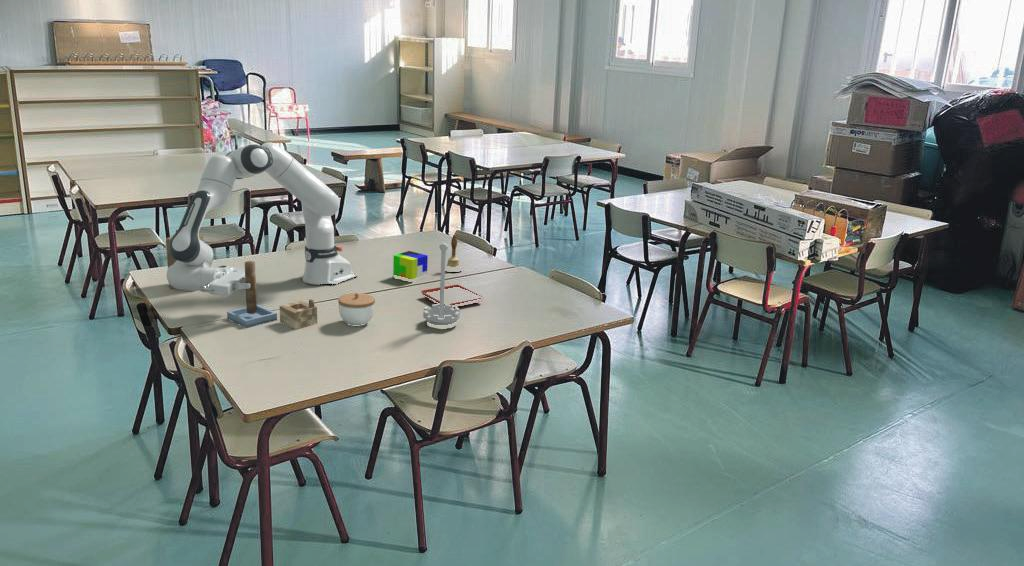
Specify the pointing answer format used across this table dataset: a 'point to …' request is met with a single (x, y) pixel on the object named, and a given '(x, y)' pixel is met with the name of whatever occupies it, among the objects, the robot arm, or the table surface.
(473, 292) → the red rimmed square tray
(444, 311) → the flag stand
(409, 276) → the puzzle toy
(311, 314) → the block
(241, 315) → the tray
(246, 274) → the dowel
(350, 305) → the lidded bowl
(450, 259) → the hand bell
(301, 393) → the table surface
